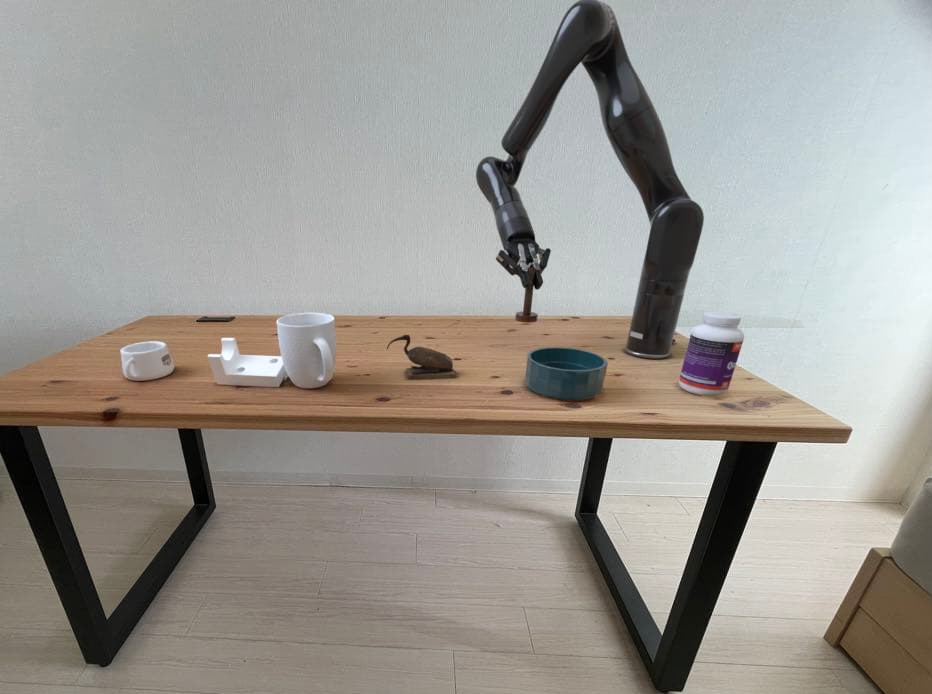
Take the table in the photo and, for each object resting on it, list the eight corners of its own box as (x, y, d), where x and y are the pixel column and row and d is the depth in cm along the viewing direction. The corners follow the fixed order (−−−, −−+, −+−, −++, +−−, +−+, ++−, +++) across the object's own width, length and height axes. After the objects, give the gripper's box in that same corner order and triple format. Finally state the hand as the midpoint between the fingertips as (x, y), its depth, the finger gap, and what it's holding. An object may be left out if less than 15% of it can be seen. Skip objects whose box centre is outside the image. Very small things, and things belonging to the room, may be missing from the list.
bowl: (535, 370, 97) (539, 343, 95) (607, 382, 90) (612, 353, 88) (514, 392, 86) (517, 362, 84) (594, 408, 79) (600, 376, 77)
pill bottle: (727, 401, 81) (752, 322, 75) (675, 392, 85) (695, 316, 79) (725, 387, 88) (749, 312, 82) (678, 379, 92) (696, 308, 86)
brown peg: (519, 316, 110) (523, 265, 106) (539, 319, 108) (545, 266, 103) (512, 321, 107) (517, 268, 102) (533, 323, 104) (539, 269, 99)
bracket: (218, 388, 92) (207, 356, 87) (232, 368, 98) (222, 337, 93) (279, 391, 90) (271, 359, 86) (290, 370, 96) (283, 339, 91)
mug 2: (358, 391, 87) (355, 324, 82) (304, 404, 82) (297, 334, 76) (324, 369, 99) (320, 309, 93) (275, 380, 93) (267, 317, 88)
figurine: (387, 379, 93) (387, 338, 89) (386, 372, 97) (385, 332, 93) (455, 377, 94) (457, 336, 90) (451, 370, 98) (453, 330, 94)
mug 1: (141, 366, 102) (134, 340, 100) (183, 366, 102) (177, 340, 99) (107, 386, 91) (98, 357, 89) (153, 386, 91) (146, 358, 88)
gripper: (492, 215, 103) (512, 279, 97) (547, 214, 106) (570, 275, 100) (481, 238, 110) (500, 299, 104) (533, 236, 113) (554, 295, 107)
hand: (534, 287), depth 102 cm, fingers closed on brown peg
